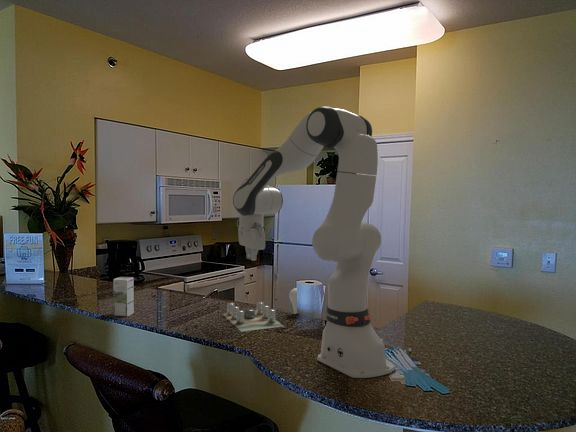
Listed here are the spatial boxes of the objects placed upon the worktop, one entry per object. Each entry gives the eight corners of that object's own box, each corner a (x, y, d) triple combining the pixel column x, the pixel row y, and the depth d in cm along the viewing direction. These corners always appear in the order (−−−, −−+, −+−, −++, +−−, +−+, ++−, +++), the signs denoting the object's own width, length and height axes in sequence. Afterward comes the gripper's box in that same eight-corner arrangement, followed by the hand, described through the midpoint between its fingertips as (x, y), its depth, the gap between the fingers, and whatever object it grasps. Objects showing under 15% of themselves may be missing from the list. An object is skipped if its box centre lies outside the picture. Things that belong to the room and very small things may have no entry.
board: (284, 328, 145) (284, 326, 145) (241, 333, 139) (241, 331, 139) (260, 311, 167) (260, 309, 167) (222, 315, 160) (222, 313, 160)
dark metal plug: (256, 318, 154) (256, 310, 154) (245, 319, 153) (245, 311, 153) (252, 315, 158) (252, 307, 158) (241, 316, 157) (241, 308, 157)
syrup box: (134, 313, 163) (134, 276, 163) (127, 317, 157) (126, 279, 157) (120, 312, 164) (120, 276, 163) (112, 316, 158) (112, 279, 158)
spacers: (276, 323, 149) (276, 310, 149) (240, 327, 143) (240, 314, 143) (259, 311, 165) (259, 299, 165) (226, 314, 159) (226, 303, 159)
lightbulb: (298, 318, 157) (298, 290, 157) (285, 316, 161) (286, 288, 161) (307, 315, 162) (307, 287, 162) (295, 313, 166) (295, 285, 165)
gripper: (269, 223, 144) (269, 262, 145) (250, 221, 163) (250, 255, 163) (252, 223, 142) (252, 263, 142) (235, 221, 160) (235, 256, 161)
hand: (251, 259), depth 153 cm, fingers open, 3 cm apart
